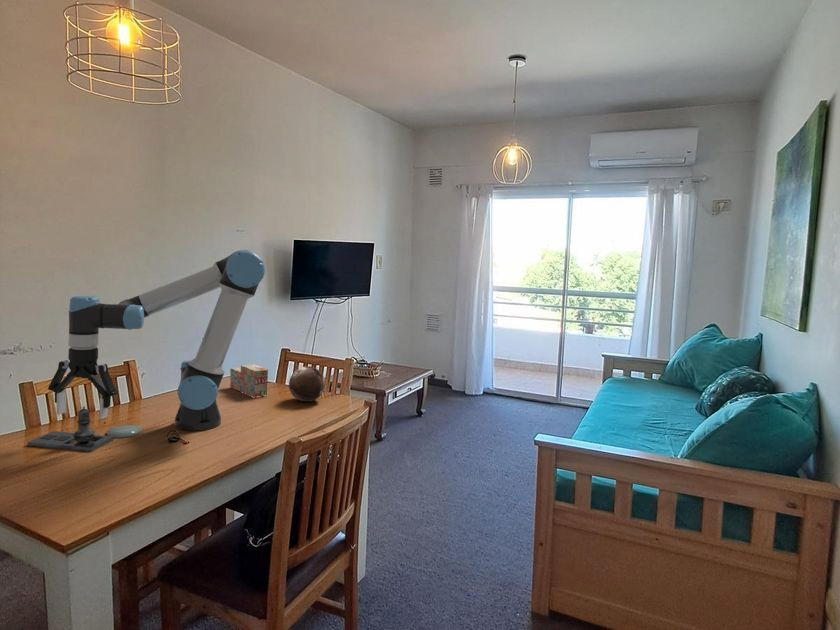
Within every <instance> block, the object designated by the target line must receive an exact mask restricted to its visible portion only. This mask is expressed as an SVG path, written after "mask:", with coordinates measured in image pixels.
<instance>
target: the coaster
mask: <svg viewBox="0 0 840 630" xmlns="http://www.w3.org/2000/svg"><path fill="white" fill-rule="evenodd" d="M142 432H143V431H142V427H141V426H138V425H133V424H132V425H120V426H119V425H118V426H115V427H112V428H109V429H108V430H107V431H106V436H112V437H113V439H124V438H132V437H135V436H137V435H140V434H141V433H142Z"/></svg>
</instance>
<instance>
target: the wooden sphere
mask: <svg viewBox="0 0 840 630" xmlns="http://www.w3.org/2000/svg"><path fill="white" fill-rule="evenodd" d="M325 387H326V380H325V377H324V375H323V373H322V372H321V371H320V370H319V369H317V368H315V367H314V366H301V367H299V368H298V369H296V370H295V371H294V372H293V373H292V374H291V375H290V378H289V382H288V388H289V392H290V393H291V395H292V396H293V397H294V399H296V400H297V401H300V400H301V401H300V402H303V401H310V402H312V401H311V400H314V401H315V399H316V400H317V399H319V398H320V397H321V396H322V394H323V393H324V391H325Z"/></svg>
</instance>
